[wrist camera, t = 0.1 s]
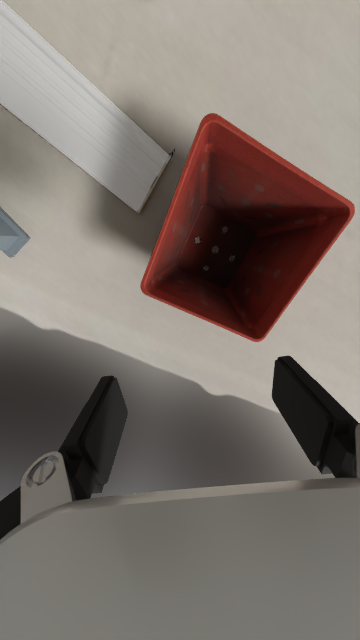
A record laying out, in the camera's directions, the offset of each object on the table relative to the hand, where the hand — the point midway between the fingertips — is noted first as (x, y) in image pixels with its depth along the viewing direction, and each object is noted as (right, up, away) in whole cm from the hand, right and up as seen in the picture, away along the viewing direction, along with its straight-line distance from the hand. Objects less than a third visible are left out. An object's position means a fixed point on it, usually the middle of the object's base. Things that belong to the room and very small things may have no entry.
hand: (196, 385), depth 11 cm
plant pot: (+6, +18, +26) cm, 33 cm away
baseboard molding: (-18, +37, +19) cm, 45 cm away
